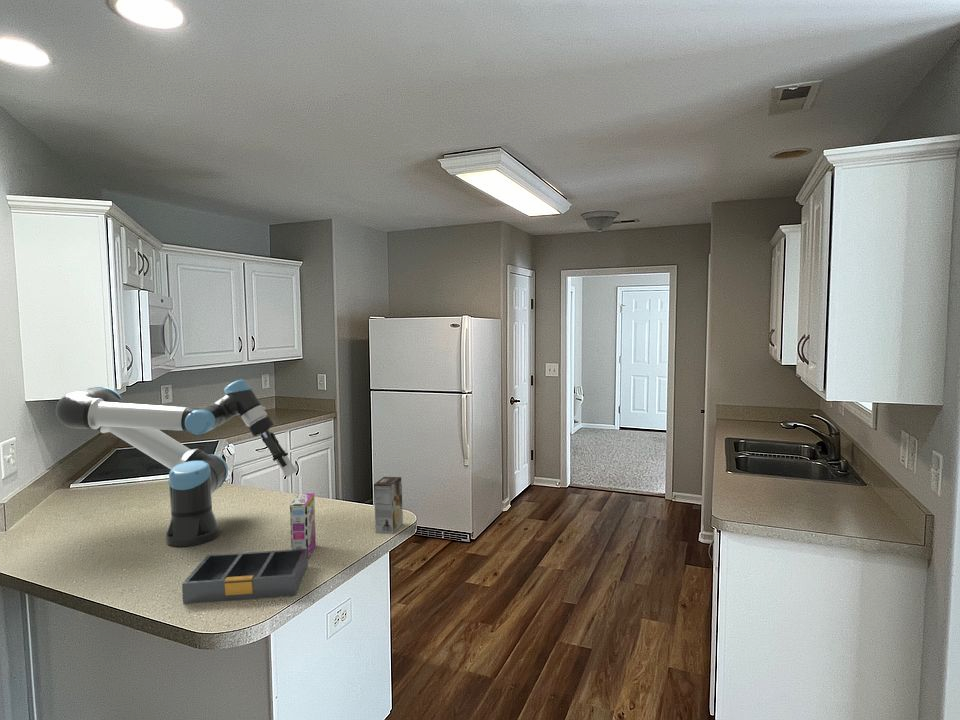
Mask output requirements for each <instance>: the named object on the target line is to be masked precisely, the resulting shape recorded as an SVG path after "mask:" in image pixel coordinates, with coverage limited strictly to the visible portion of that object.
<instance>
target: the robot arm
mask: <svg viewBox="0 0 960 720" xmlns="http://www.w3.org/2000/svg"><path fill="white" fill-rule="evenodd" d="M223 391H224V393H225V395H224V396H222V397H221V398H219V399H217V400H216V401H214V402H213V403H211V404H209V405H208V404H207V405H206V406H203V407H187V406H186V407H185V406H174V405H161V404H160V405H158V404H157V405H156V404H145V403H143V404H142V403H129V402H128V403H127V402H125V401H123V399H122V396H121V394H120V393H118V392H117V391H116V390H115V389H113V388H110V387H107V386H106V387H105V386H93V387H89V388H87V389H83V390H77V391H73V392H72V391H71V392H69V393H66V394H65V395H63V396H62V397H61V398H60V399H59V401H57V403H56V406H55V416H56V418H57V420H58V422H60V423H61V425H63V426H64V427H67V428H69V429H76V430H77V429H79V430H82V429H84V430H96V431H98V432H99V433H101V434H107V433H111V434H113V435H114V436H115V437H118V438H119V439H121V440H122V441H124V442H126V443H127V444H129V445H131V447H134V448H136V449H137V450H138V451H140V452H142V453H143V454H145V455H146V456H149V458H151V459H153V460H155V461H157V462H158V463H160V464H161V465H163V466H164V467H165V468H168V469H170V470H169V473H168V482H167V483H168V485H169V503H170V515H171V516H170V520H169V524H168V526H167V531H166V535H165V537H166V538H165V542H166V544H167V545H169V546H172V547H189V546H190V547H191V546H196V545H201V544H205V543H207V542H210V541H213V540H214V539H215V538H217V537H218V536H219V535H220V526H219V525H220V524H219V522H218V520H217V518H216V516H215V514H214V512H213V505H212V504H213V502H212V501H213V500H212V494H213V493H214V492H216V490H218V489H219V488H221V487H222V486H223V484H224V483H225V482H226V481H227V479H228V475H229V466H228V464H227V462H226V460H225V459H224V458H223V457H221V456H220V455H217V454H212V453H211V454H208V453H206V452H205V451H203V450H201V449H200V448H193V449H191V448H189V447H187V446H186V445H184V444H182V443H181V442H180V441H177V439H174V438H173V437H171V436H170V435H168V434H166V433H165V432H163V431H178V432H179V431H180V432H189V433H190V434H192V435H204V434H206V433H209V432H211V431H212V430H214V429H217V428H219V427H221V425H223V424H224V423H226V422H227V421H229V420H231V419H232V418H234V417H235V416H236V415H239V416H240V418H241V419H242V421H243V422H244V424H245V426H246V427H249V428H248V430H249V431H250V433H251V435H252V436H253V437H255V438H256V437H259V436H260V437H261V438H262V439H261V440H262V442H263V443H264V444H265V446H266V447H267V449H268V450H269V451H270V453H271V455H272V461H273V462H275V461H276V463H277V464H278V466H279V467H280V469H281V470H282V472H283V473H284V475H285V477H287V478H288V477H289V476H292V475H293V474H295V473H296V472H298V471H297V469H296V468H295V467H296V466H294V463H292V461H291V460H290V457H289V453H288V452H287V451H285V450H284V449H283V447H282V446H281V444H280V443H279V440H278V439H277V437H276V435H275V433H274V432H270V431H271V430H270V429H273V427H274V425H275V424H274V422H273V420H272V419H271V417H270V416H268V413H267V411H266V406H263V405H262V404H261V402H260V401H259V399H258V398H257V396H256V394H255V393H254V391H253V389H252V388H251V387H250V386H249V384H248V382H247V381H246V380H245V379H237V380H235V381H233V382H231V383H230V384H228V385H226V386H225V387H224V389H223Z"/></svg>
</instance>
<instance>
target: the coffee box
mask: <svg viewBox="0 0 960 720" xmlns="http://www.w3.org/2000/svg"><path fill="white" fill-rule="evenodd" d="M402 488H403V487H402V477H401V476H383V477H382V478H380V479H379V480H377V482H375V483H373V495H374V496H373V497H374V520H375V521H374V523H375V525H374V526H375V528H374V529H375V533H376V534H395V533H396V531H397V530H399V528H400V527H401V526H403V524H404V518H403V517H404V516H403V513H404V512H403V489H402Z"/></svg>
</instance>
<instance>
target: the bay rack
mask: <svg viewBox="0 0 960 720" xmlns="http://www.w3.org/2000/svg"><path fill="white" fill-rule="evenodd" d="M307 567H308V568H309V559H308V552H307V549H295V550H291V549H283V550H269V551H268V550H266V551H251V552H250V551H249V552H235V553H218V554H216V553H215V554H207V555H206V556H205V557H204V559H202V561H201V562H200V563H199V564H198V565H197V566H196V568H194V569H193V571H192V572H191V573H190V574H189V575H188V576H187V578H186V579H185V580H184V581H183V582H182V583H181V585H182V586H181V588H182V591H181V592H182V604H183V605H184V604H194V603H195V604H197V603H210V602H212V603H214V602H224V601H225V602H226V601H239V600H250V599H251V600H252V599H254V600H255V599H266V598H267V599H268V598H280V596H283V597H295V596H296V594H297V592H298V590H299V588H300V586H301V583H302V581H303V579H304V577H303V576H305V574H306V572H305V571H307V570H306V569H308V568H307ZM302 578H303V579H302ZM278 596H279V597H278Z"/></svg>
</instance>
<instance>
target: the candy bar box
mask: <svg viewBox="0 0 960 720" xmlns="http://www.w3.org/2000/svg"><path fill="white" fill-rule="evenodd" d="M315 502H316V501H315V493H299V494H298V495H297V496H296V497H295V498H294V500H293V501H292V502H291V503H290V504H289V514H290V515H289V516H290V517H289V518H290V548H291V549H290V550H295V549H307V552H308V560H309V558H310V557H311V555H312V553H313V551H314V549H315V547H316V546H317V545H316V544H317V542H316V539H317V537H316V506H315Z"/></svg>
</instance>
